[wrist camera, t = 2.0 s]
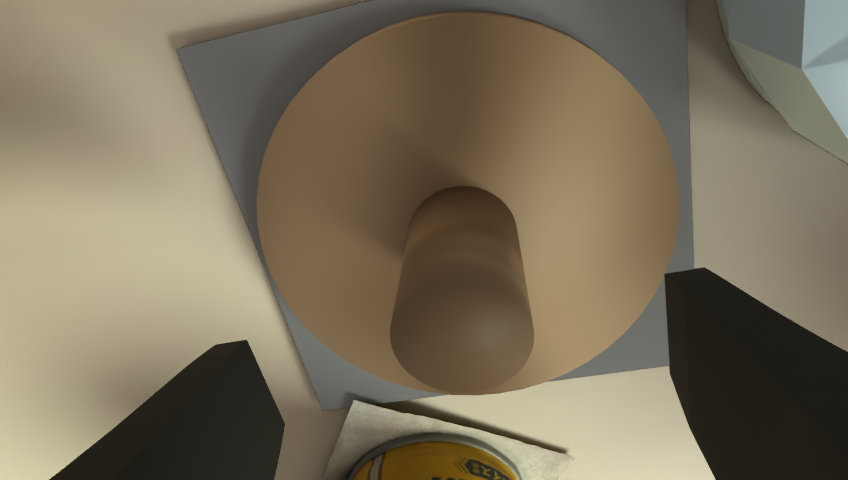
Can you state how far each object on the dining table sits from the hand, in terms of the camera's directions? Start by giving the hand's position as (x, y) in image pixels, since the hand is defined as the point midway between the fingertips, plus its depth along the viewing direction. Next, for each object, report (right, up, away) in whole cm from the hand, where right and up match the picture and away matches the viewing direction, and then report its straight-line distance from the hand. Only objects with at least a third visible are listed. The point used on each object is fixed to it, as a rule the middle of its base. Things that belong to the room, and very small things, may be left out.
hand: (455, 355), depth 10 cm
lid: (0, +2, +5) cm, 5 cm away
